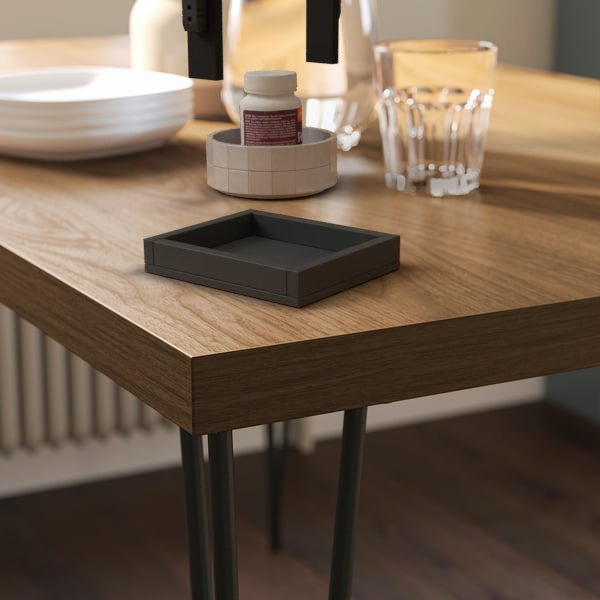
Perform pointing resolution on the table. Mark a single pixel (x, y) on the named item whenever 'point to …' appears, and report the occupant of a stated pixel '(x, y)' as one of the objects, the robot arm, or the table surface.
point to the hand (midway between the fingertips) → (267, 71)
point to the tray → (273, 256)
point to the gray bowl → (271, 165)
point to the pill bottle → (270, 109)
